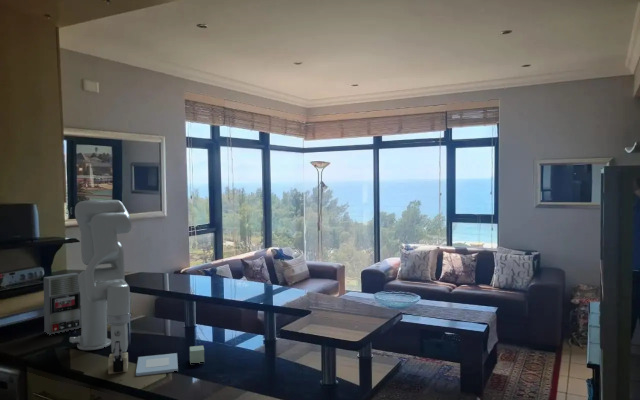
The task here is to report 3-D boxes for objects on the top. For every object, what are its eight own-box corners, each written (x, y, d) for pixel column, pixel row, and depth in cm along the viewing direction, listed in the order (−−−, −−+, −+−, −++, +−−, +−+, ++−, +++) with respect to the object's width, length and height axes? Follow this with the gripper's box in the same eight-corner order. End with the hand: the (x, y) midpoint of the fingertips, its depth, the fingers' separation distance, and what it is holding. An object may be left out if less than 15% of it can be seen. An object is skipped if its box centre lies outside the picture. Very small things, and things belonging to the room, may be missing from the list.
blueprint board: (135, 376, 165) (135, 373, 165) (138, 359, 180) (138, 356, 180) (178, 371, 169) (177, 368, 169) (177, 355, 185) (177, 352, 184)
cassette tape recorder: (49, 336, 207) (48, 279, 206) (44, 333, 211) (43, 277, 210) (82, 328, 218) (81, 274, 217) (76, 326, 222) (75, 272, 221)
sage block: (190, 364, 176) (190, 351, 176) (189, 359, 181) (189, 346, 180) (204, 363, 177) (204, 349, 177) (203, 358, 182) (203, 345, 182)
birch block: (108, 373, 167) (108, 359, 167) (110, 367, 173) (110, 354, 172) (126, 371, 169) (126, 358, 169) (128, 365, 174) (127, 352, 174)
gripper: (128, 324, 163) (128, 376, 164) (131, 311, 179) (132, 358, 180) (104, 326, 161) (104, 378, 161) (109, 312, 177) (110, 360, 178)
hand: (119, 367), depth 171 cm, fingers closed on birch block, 6 cm apart
